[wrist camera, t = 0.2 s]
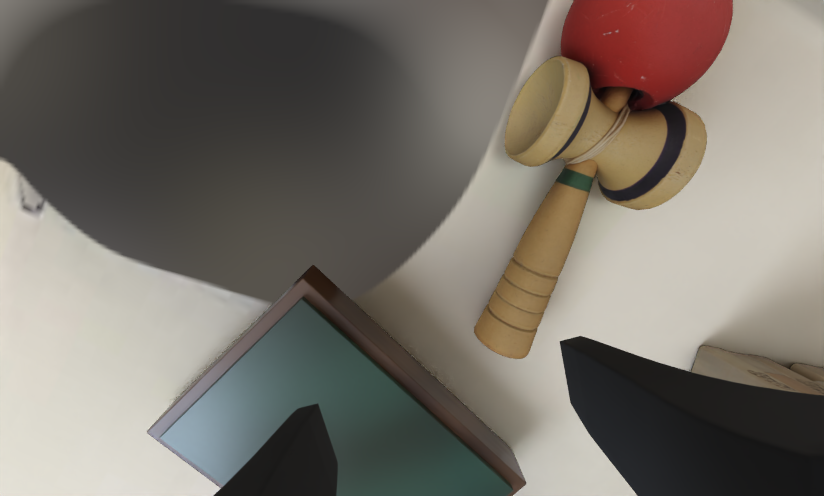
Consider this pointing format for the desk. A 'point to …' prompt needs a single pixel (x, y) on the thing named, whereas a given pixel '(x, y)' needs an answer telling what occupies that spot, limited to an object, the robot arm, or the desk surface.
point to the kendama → (602, 135)
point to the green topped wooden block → (336, 404)
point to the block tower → (758, 371)
